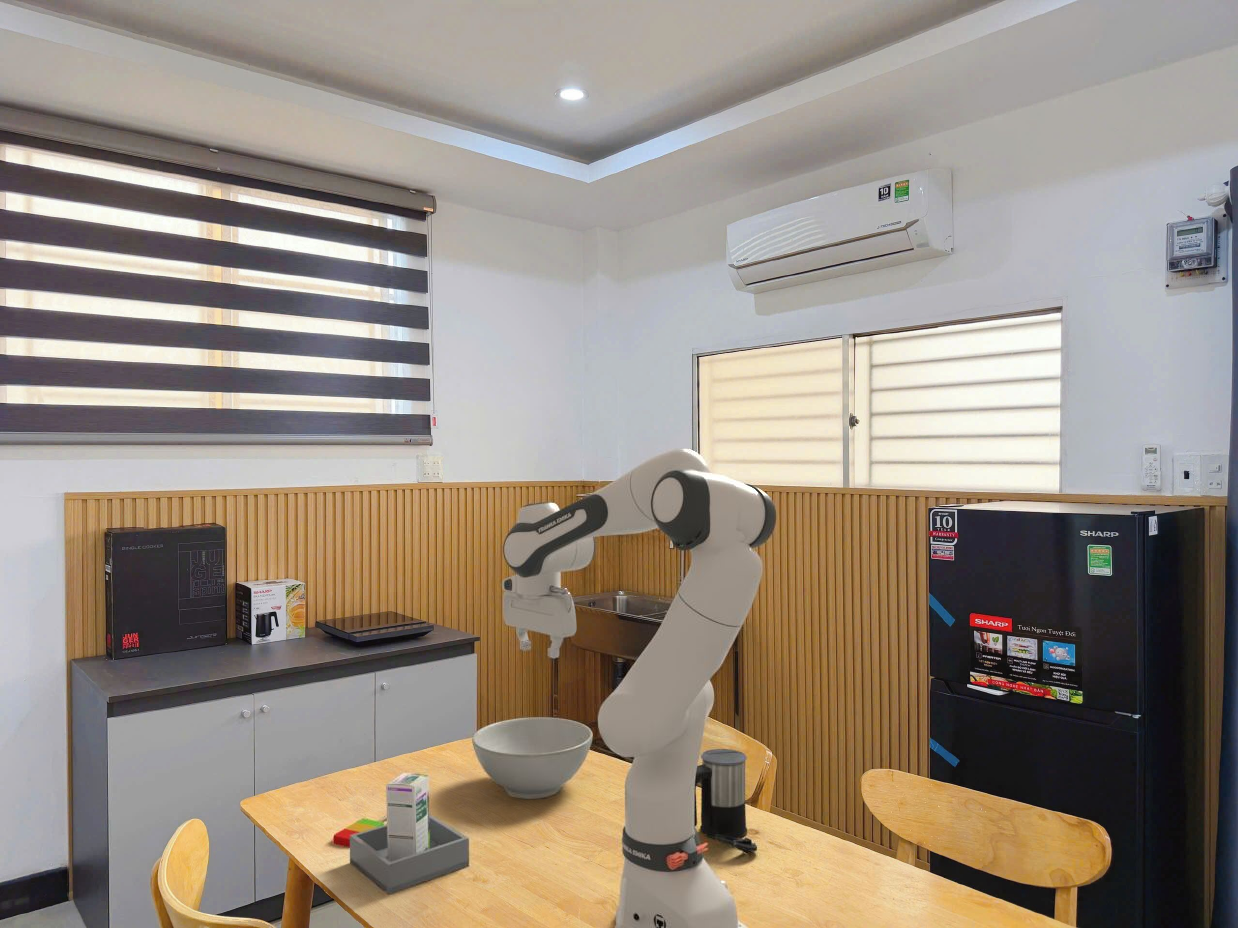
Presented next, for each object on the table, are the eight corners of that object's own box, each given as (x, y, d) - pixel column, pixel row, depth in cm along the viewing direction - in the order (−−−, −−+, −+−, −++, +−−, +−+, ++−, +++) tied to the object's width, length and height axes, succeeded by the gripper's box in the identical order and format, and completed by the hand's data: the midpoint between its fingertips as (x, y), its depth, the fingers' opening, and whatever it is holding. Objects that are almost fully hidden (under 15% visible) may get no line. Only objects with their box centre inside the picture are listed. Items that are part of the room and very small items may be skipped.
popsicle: (330, 845, 165) (330, 835, 165) (381, 815, 179) (381, 806, 179) (353, 850, 163) (352, 840, 163) (402, 819, 176) (402, 810, 176)
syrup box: (416, 866, 152) (415, 785, 152) (386, 863, 154) (385, 782, 154) (430, 852, 158) (430, 773, 158) (401, 849, 159) (401, 771, 159)
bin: (469, 865, 155) (468, 837, 155) (388, 894, 145) (388, 864, 145) (427, 837, 167) (426, 812, 167) (350, 862, 156) (349, 835, 157)
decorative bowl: (485, 767, 206) (485, 716, 206) (596, 767, 205) (596, 717, 205) (460, 812, 179) (459, 754, 179) (588, 813, 178) (588, 754, 178)
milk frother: (720, 816, 176) (719, 744, 176) (785, 839, 165) (784, 762, 165) (674, 839, 166) (673, 762, 166) (741, 865, 154) (740, 782, 154)
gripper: (583, 587, 164) (584, 659, 164) (522, 577, 180) (523, 643, 180) (557, 590, 160) (558, 664, 160) (497, 580, 176) (497, 648, 176)
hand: (539, 653), depth 170 cm, fingers open, 8 cm apart
